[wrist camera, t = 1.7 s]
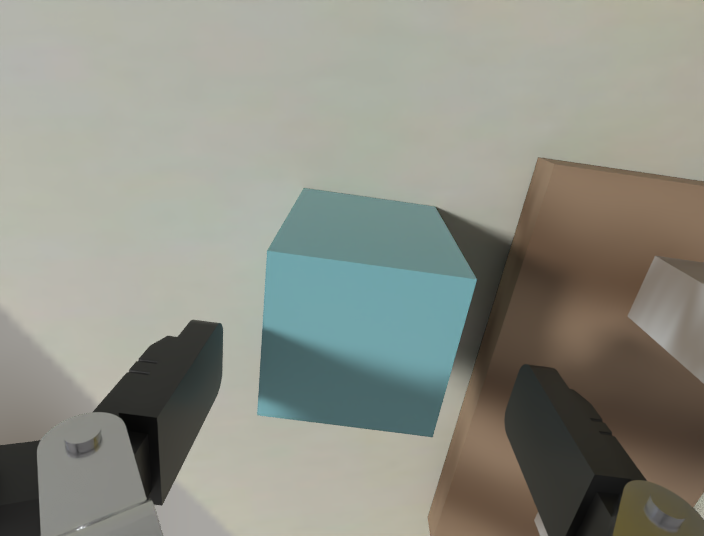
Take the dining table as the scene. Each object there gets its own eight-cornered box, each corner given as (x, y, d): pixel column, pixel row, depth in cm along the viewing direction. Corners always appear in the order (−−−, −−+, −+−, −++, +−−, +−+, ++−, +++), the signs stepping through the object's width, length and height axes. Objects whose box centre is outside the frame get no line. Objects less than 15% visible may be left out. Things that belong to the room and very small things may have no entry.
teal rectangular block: (303, 188, 17) (267, 250, 10) (434, 206, 17) (477, 279, 10) (293, 304, 19) (257, 415, 12) (410, 319, 19) (432, 437, 13)
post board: (538, 157, 16) (630, 196, 10) (845, 202, 16) (1092, 262, 11) (427, 517, 24) (446, 647, 18) (635, 542, 24) (715, 677, 19)
